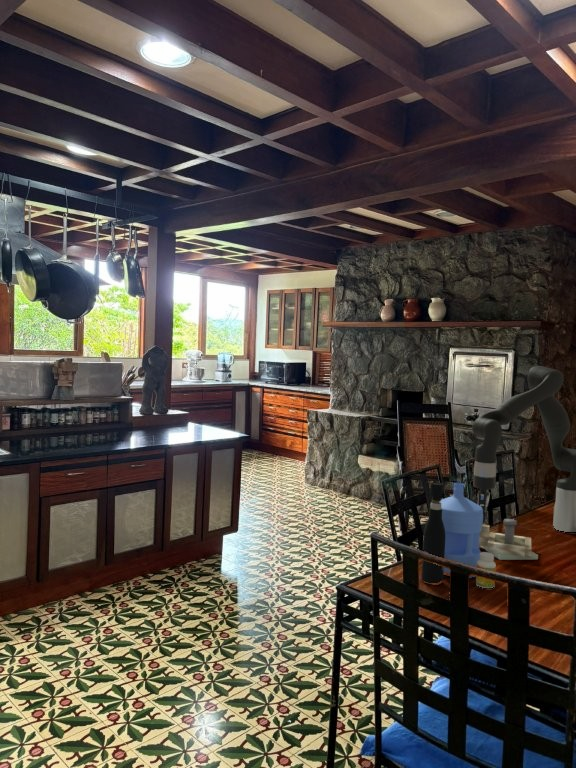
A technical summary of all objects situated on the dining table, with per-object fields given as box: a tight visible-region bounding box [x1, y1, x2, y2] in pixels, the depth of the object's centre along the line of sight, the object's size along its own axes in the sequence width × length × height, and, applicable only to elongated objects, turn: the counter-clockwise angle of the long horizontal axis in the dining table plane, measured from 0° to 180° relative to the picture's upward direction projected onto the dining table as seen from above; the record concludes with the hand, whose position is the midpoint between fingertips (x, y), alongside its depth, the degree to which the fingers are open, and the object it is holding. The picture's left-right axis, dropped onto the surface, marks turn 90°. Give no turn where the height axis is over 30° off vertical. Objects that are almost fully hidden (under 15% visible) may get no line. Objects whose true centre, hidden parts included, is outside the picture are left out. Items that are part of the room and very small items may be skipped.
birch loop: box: [479, 523, 532, 558], centre depth 208 cm, size 18×14×7 cm
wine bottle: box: [420, 481, 445, 583], centre depth 177 cm, size 6×6×30 cm
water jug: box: [440, 482, 484, 579], centre depth 187 cm, size 16×16×28 cm
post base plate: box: [480, 518, 539, 561], centre depth 207 cm, size 14×14×12 cm
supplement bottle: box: [475, 551, 497, 589], centre depth 175 cm, size 5×5×10 cm
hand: (482, 518), depth 210 cm, fingers open, 8 cm apart
